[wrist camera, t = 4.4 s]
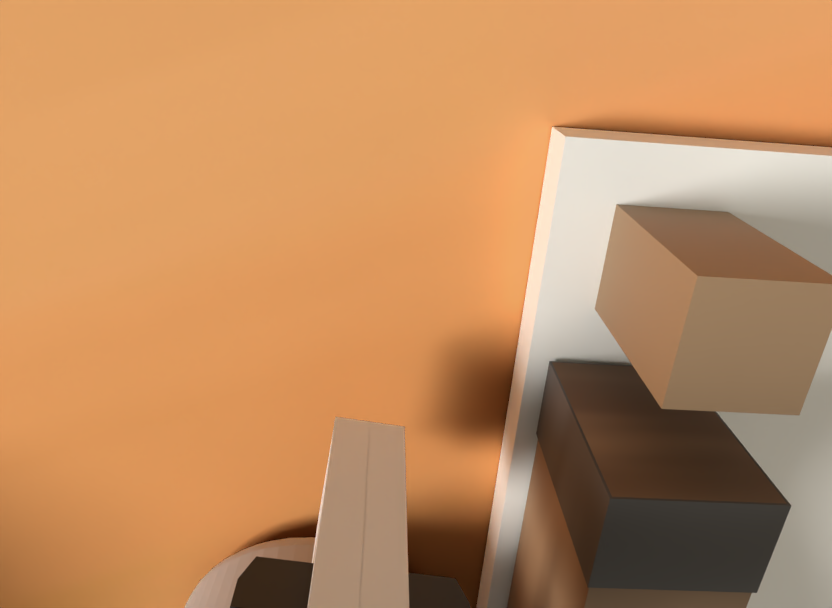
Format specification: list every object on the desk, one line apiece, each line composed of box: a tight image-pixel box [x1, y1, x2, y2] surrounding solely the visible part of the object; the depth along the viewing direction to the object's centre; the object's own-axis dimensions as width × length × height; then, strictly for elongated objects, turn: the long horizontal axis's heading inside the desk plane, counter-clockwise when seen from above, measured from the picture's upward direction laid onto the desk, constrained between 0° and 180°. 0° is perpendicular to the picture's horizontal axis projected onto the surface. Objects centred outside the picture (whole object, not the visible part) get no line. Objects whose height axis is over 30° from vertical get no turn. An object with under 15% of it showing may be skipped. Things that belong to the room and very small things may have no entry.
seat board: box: [476, 127, 832, 608], centre depth 17 cm, size 22×16×5 cm
